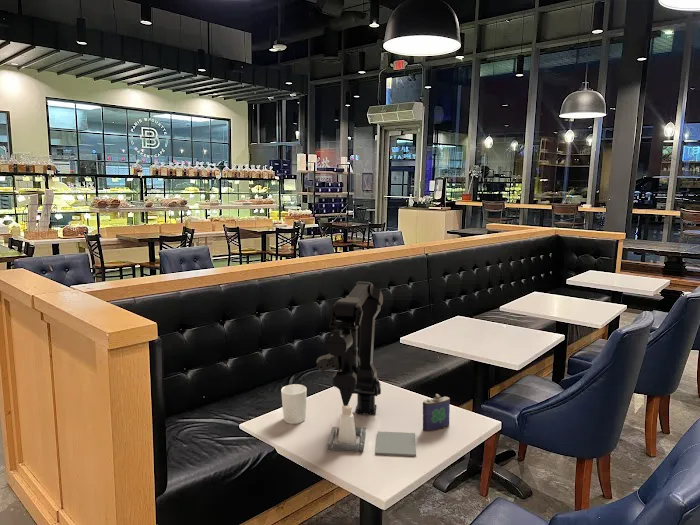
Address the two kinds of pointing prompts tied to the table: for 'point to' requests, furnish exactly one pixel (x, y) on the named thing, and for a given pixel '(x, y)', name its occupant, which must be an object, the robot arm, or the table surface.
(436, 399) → the flask
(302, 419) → the white cup
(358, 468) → the table surface
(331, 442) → the holder
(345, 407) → the pepper shaker
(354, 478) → the table surface
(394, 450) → the mat
